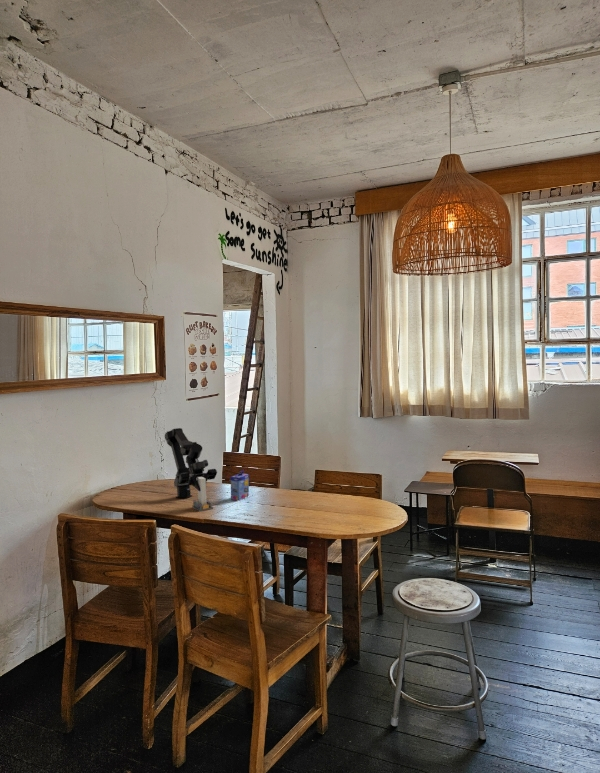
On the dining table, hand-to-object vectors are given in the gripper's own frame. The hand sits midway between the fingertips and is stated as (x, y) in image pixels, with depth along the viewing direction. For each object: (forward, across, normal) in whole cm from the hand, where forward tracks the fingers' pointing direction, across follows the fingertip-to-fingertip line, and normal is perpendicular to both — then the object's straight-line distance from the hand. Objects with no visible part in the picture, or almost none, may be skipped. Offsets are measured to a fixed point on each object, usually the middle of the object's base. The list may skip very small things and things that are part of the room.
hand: (202, 490), depth 257 cm
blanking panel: (+4, 0, +6) cm, 7 cm away
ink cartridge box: (+2, +23, +12) cm, 26 cm away
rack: (+6, 0, +7) cm, 9 cm away
